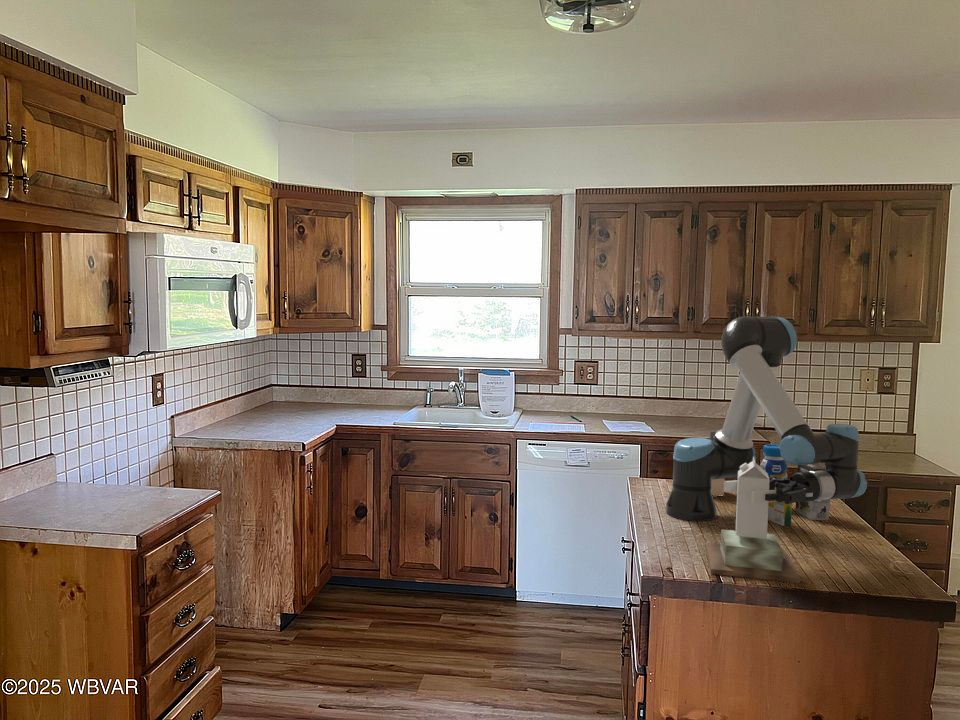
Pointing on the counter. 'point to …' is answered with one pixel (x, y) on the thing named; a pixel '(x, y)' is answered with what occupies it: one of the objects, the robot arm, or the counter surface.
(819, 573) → the counter surface
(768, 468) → the beverage bottle
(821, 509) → the coffee box
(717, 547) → the tower base
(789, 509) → the crayon box
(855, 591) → the counter surface
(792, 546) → the counter surface
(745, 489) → the milk carton
